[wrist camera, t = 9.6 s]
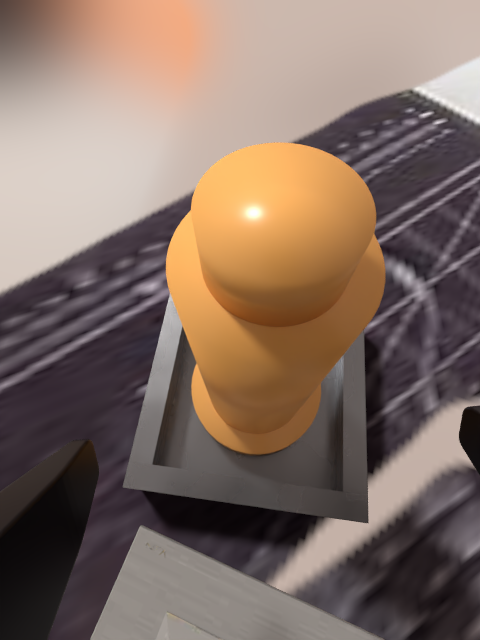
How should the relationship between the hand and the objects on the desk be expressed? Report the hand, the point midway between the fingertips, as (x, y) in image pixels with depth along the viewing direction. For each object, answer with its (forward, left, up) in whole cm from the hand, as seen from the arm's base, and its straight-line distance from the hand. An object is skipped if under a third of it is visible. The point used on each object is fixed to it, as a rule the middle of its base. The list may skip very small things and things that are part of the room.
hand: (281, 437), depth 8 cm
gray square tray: (+3, +1, -10) cm, 10 cm away
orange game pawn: (+3, +1, -9) cm, 9 cm away
